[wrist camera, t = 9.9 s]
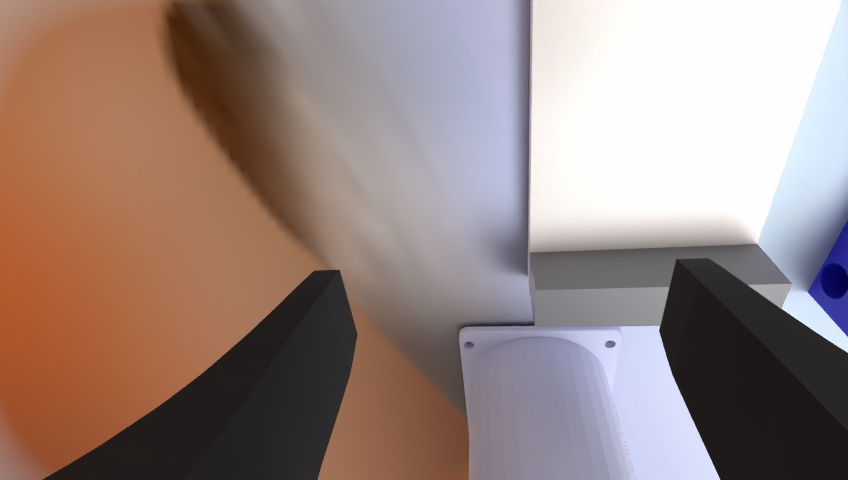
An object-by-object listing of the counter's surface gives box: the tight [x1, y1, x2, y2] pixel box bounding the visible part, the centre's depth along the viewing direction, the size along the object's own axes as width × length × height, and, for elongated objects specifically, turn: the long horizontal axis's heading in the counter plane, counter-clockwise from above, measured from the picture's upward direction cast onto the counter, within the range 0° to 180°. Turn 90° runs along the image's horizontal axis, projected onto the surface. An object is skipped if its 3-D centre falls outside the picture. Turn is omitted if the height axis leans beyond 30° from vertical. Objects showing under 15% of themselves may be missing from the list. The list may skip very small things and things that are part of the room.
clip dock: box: [528, 0, 842, 327], centre depth 15 cm, size 18×9×3 cm, turn 7°
